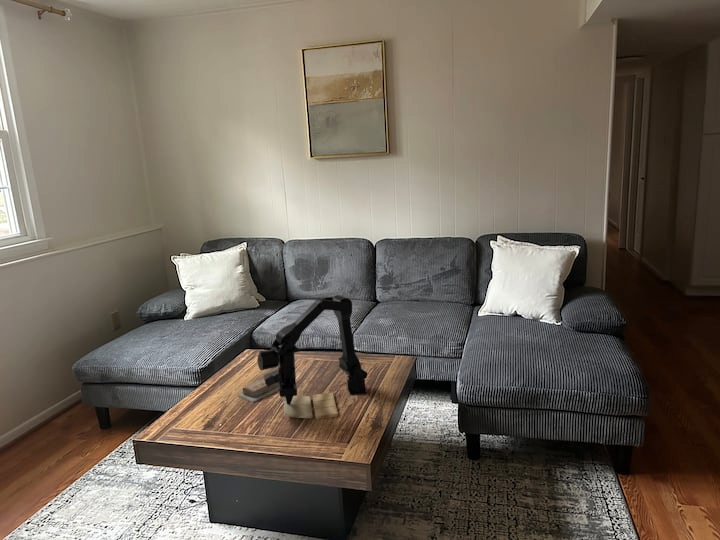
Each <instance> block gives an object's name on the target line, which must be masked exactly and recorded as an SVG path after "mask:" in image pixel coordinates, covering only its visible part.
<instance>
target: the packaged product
mask: <svg viewBox="0 0 720 540" xmlns="http://www.w3.org/2000/svg"><path fill="white" fill-rule="evenodd" d="M279 387H280V384H279V382H277V383H275V384H273V385H271V386H269V387H267V385H266V384H265V380H264V377H263V378H260V379H259V380H256V381H253V382H252V383H250V384H248V385H245V386H244V387H242V391H241V392H240V393H239V392H238V393H237V396H238V398H241V399H242V400H245V401H247V402H250V403H252V404H253V403H256V402H258V401H259V400H260V399H264V398H266V397H268V396H270V395H271V394H275V393H276V392H278V391H279Z"/></svg>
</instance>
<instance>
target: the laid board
mask: <svg viewBox="0 0 720 540" xmlns="http://www.w3.org/2000/svg"><path fill="white" fill-rule="evenodd" d="M311 397H312V404H313V410H314V415H315V420H322V419H329V418H337V417H339V413H338V409H337V405H336V401H335V397H334V394H333V392H325V393H317V394H312V395H311Z"/></svg>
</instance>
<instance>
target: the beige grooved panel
mask: <svg viewBox="0 0 720 540" xmlns="http://www.w3.org/2000/svg"><path fill="white" fill-rule="evenodd" d="M312 408H313V407H312V403H311V396H307V395H298V394H297V395H296V396H293V399H292V401H291V404H287V402H286V398H285V397H283V413H284V415H283V416H284V417H285V418H295V419H297V418H300V419H301V418H302V419H313V409H312Z"/></svg>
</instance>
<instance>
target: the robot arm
mask: <svg viewBox="0 0 720 540" xmlns="http://www.w3.org/2000/svg"><path fill="white" fill-rule="evenodd" d="M324 311H333V314H334V315H335V317H336V318H337V323H338V331H339V335H340V341H341V342H340V343H341V349H342V353H341V354H342V356H340V357H338V359H337V360H338V362H339V366H338V367H339V368H340V369H341V370H342V371H343V372H344V373H345V375H346V376H347V379H346V385H347V386H346V387H347V391H348V392H349V395H359V394H360V395H361V394H366V393H367V389H366V379H367V377H368V372H367V371H366V370H364V369H363V368H362V366H361V361H360V360H359V358H358V355H357V354H356V351H355V346H354V338H353V337H354V336H353V332H352V323H351V317H352V314H353V302H352V300H351V299H350V298H348V297H346V296H344V295H340V294H338V295H335V296H333V297H332V296H327V297H318V298H316V299H315V301H313V303H311V305H309V307H308V308H307V309H305V310H304V312H302V314H301V315H299V316H298V318H296V319H295V320H294V322H292V323H291V324H287V326H284V327H283V328H281V329H280V330H279V331H278V332H277V333H276V335H275V338H274V341H273V343H272V344H271V346H270V349H266V350H259V351H258V355H257V360H256V361H257V365H258V369H259V370H260V371H265V370H270V369H274V368H277V367H278V369H276V370H273V371H270V372H268V373H266V374H264V376H263V378H264V380H265V384H266V385H267V387H269V386H271V385H273V384H275V383H277V382H279V384H280V387H279V390H278V391H279V393H278V394H279V397H281V398H284V397H285V398H286V402H287V404H291V401H292V399H293V396H296V395H298V387H297V380H296V379H297V378H296V377H297V376H296V375H297V374H296V362H295V359H296V358H295V354H296V353H300V351H301V349H300V348H298V347H297V346H296V344H297V343H298V342H299V340H300V338H301V336H302V333H303V332H304V331H305V330H306V329H307V328H308V327H309V326H310V325H311V324H312V323H313V322H314V321H315V320H316V319H317V318H319V316H320V315H321V314H322V313H323V312H324Z"/></svg>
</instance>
